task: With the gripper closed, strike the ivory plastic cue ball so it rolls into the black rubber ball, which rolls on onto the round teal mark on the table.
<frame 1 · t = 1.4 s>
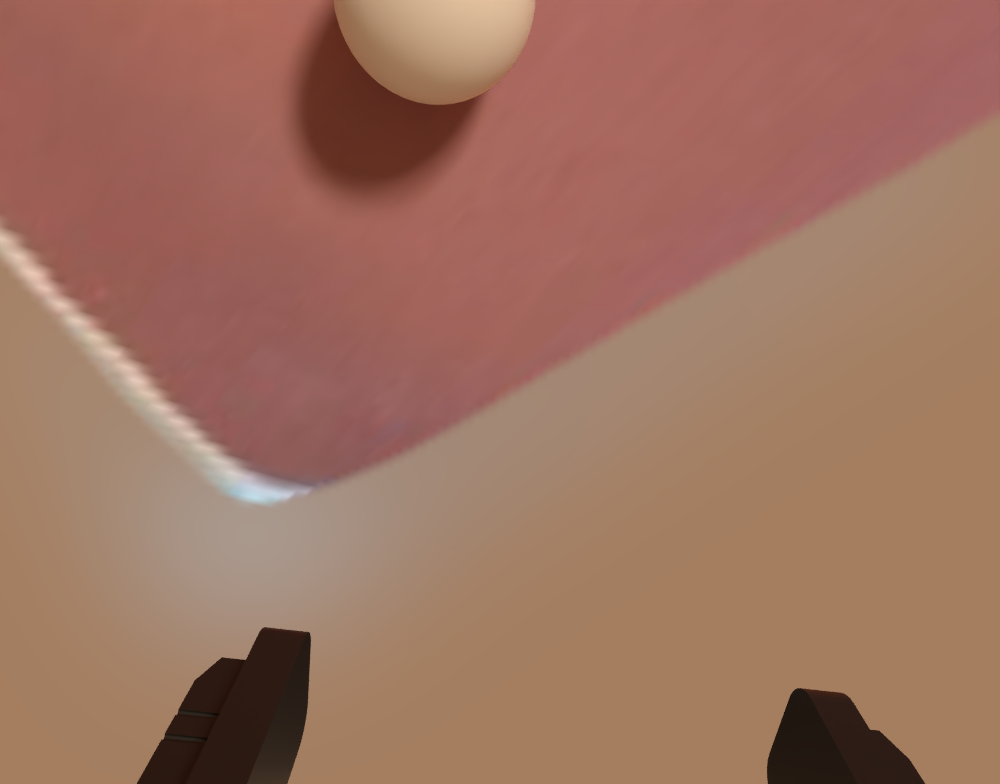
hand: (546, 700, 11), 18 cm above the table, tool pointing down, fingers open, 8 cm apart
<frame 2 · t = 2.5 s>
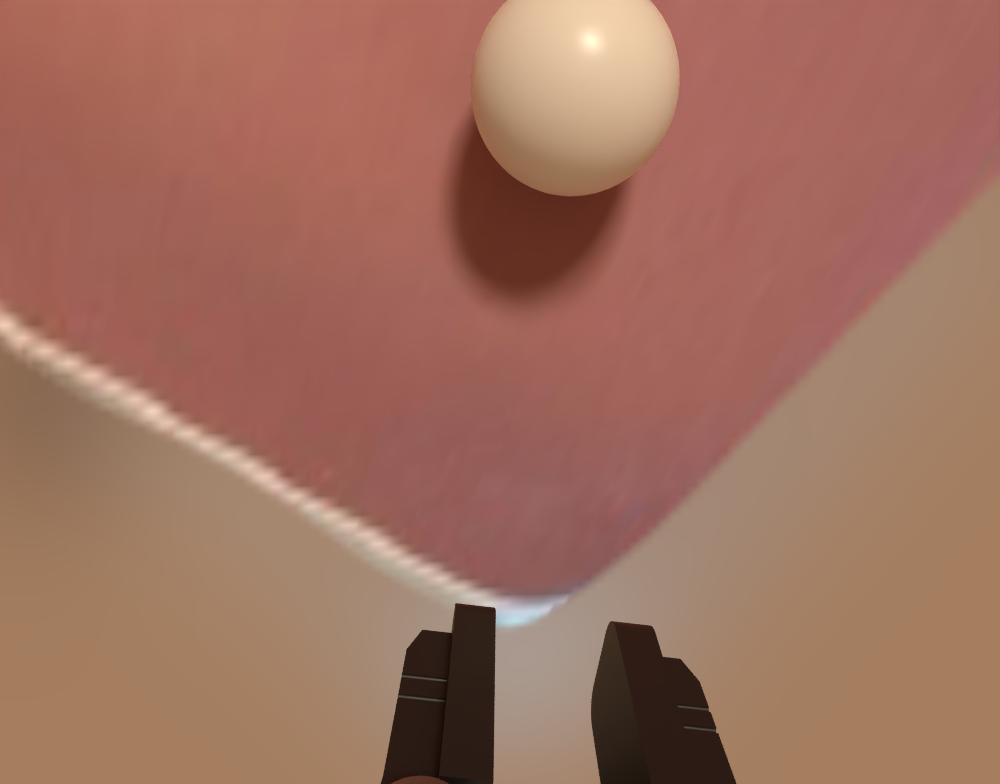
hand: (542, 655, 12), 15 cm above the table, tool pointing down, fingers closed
cue ball: (573, 89, 20), on the table
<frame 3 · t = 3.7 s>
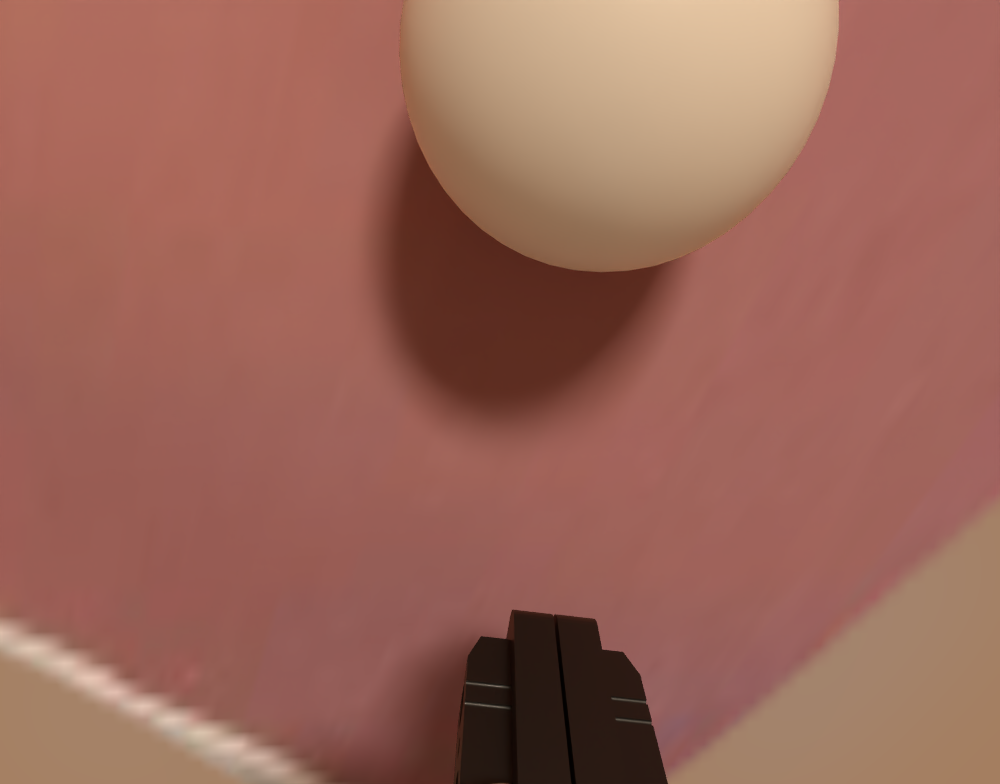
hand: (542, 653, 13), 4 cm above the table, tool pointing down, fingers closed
cue ball: (608, 62, 10), on the table
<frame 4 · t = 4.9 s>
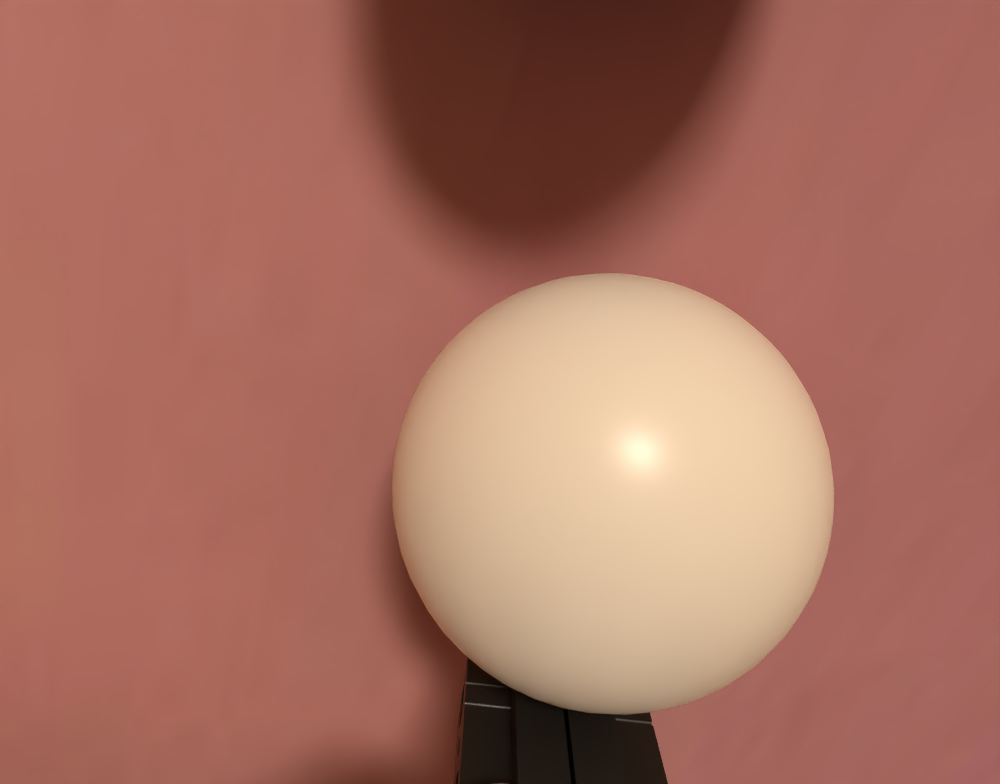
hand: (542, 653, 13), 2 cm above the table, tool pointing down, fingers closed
cue ball: (602, 484, 10), on the table
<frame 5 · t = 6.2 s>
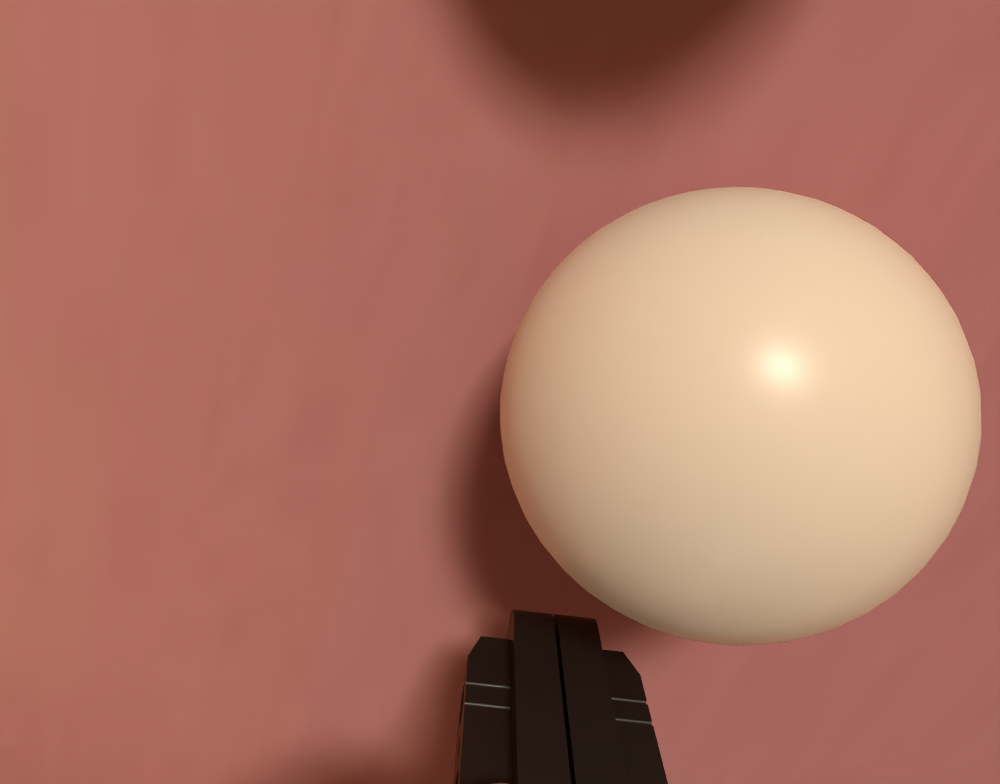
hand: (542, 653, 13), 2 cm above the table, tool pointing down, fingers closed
cue ball: (717, 413, 10), on the table
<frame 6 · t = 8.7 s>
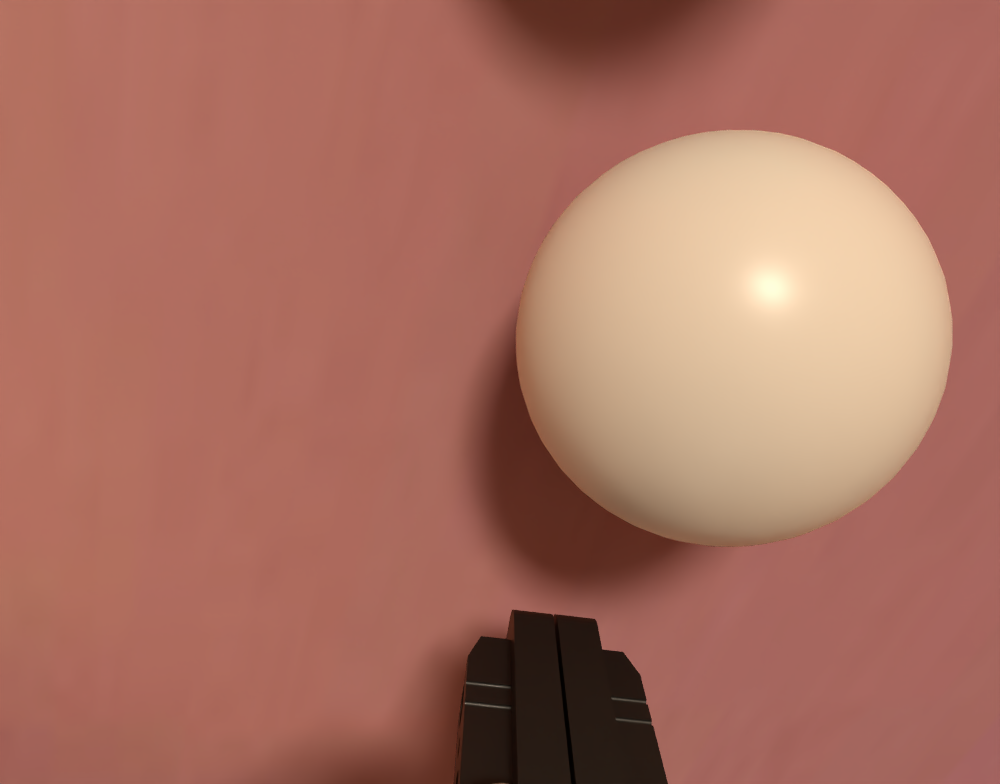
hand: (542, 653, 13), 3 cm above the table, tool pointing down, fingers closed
cue ball: (714, 342, 10), on the table
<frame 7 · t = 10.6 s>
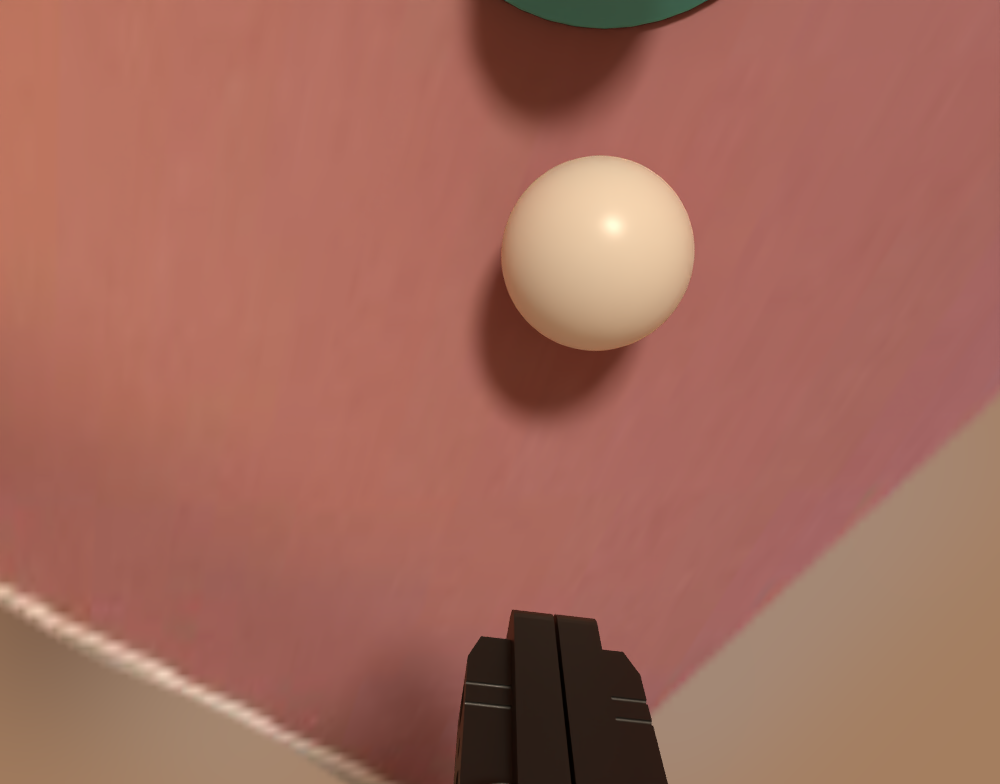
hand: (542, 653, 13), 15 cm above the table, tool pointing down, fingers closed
cue ball: (595, 255, 22), on the table
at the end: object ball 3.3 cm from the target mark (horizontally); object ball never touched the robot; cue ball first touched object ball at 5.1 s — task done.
